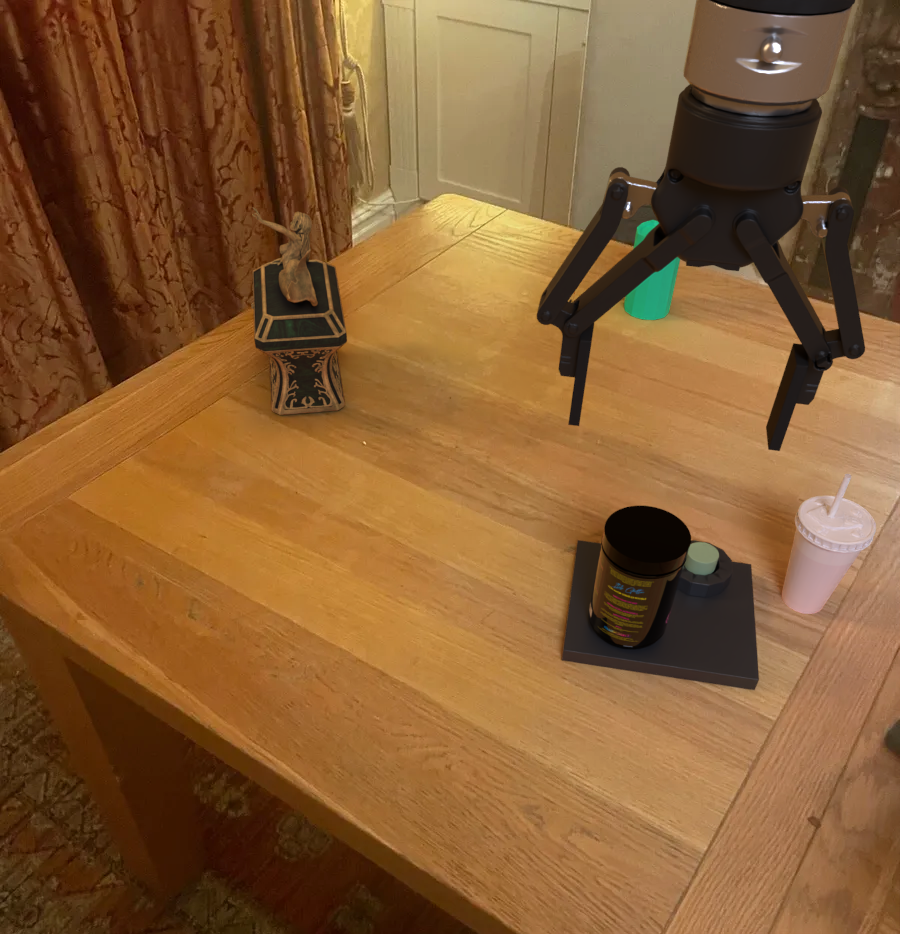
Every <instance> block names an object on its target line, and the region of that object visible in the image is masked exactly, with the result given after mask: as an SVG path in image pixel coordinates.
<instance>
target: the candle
mask: <svg viewBox="0 0 900 934" xmlns="http://www.w3.org/2000/svg"><path fill="white" fill-rule="evenodd" d="M658 224H659V222H658V220H657V219H656V220H655V219H650V220H647V221H644V222H641V223H640V224H639V225H637V227H636V231H635V237H634V243H633V249H634V248H635V247H636V246H637V245H639V244H640V243H641V242H642V241H643V240H644V238H645V237H646V235H647V234H648V233H649V232H650V231H651V230H652V229H653V228H654V227H655V226H657V225H658ZM633 249H632V250H633ZM680 263H681V259H679V258H678V257H676V258H675V259H674V260H673V261H672V262H670V263H669V264H668V265H667V266H666V267H664V268H663V269H662V270H660V271H659V272H654V273H653V274H652V275H650V276H649V277H648V278H647V279H646V280H644V281H643V282H642V283H641V284H640V285H638V286H637V287H636V288H635V289H634V290H632V291H631V292H630V293H629V294H628V295H627V296H625V297H624V301H623V309H624V312H626V313H627V314H628V315H629V316H630V317H633V318H636V319H640V320H643V321H644V320H648V321H656V320H660V319H664V318H665V317H666V316H667V315H668V314H670V310H671V305H672V302H673V296H674V291H675V287H676V282H677V278H678V273H679V267H680Z"/></svg>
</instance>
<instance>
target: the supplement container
mask: <svg viewBox="0 0 900 934" xmlns="http://www.w3.org/2000/svg"><path fill="white" fill-rule="evenodd" d="M691 540H692V535H691V531H690V529H689V528H688V526H687V525H686V524H685V522H684V521H683V520H681V518H680V517H678V516H677V515H676V514H674V513H672V512H670V511H668V510H666V509H662V508H659V507H656V506H651V505H630V506H626V507H625V506H624V507H622V508H620V509H617V510H616V511H614V512H612V514H610V515H609V516H608V517H607V518H606V521H605V523H604V527H603V533H602V537H601V541H600V543H601V549H600V555H599V560H598V565H597V570H596V576H595V581H594V586H593V591H592V596H591V602H590V607H589V612H588V618H589V622H590V625H591V627H592V629H593V631H594V632H595V633H596V635H597V636H598V637H599V638H600V639H602V640H603V641H605V642H606V643H608V644H610V645H612V646H614V647H617V648H621V649H628V650H636V649H642V648H646V647H648V646H651V645H653V644H654V643H656V642H657V641H658V640H659V639H660V638H661V637H662V636H663V634H664V632H665V630H666V626H667V623H668V620H669V616H670V613H671V609H672V606H673V602H674V599H675V595H676V592H677V588H678V585H679V581H680V578H681V574H682V571H683V567H684V564H685V562H686V560H687V555H688V551H689V548H690V544H691Z"/></svg>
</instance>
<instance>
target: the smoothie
mask: <svg viewBox="0 0 900 934" xmlns="http://www.w3.org/2000/svg"><path fill="white" fill-rule="evenodd" d="M852 477H853V476H852V474H850V473H844V475H843V477H842V480H841V482H840V484H839V487H838V489H837V492H836V494H835V495H831V494H828V495H827V494H823V495H814V496H811V497H809V498H806V499H805V500H803V501H802V502H801V503H800V505H799V507H798V509H797V511H796V513H795V516H794V525H795V527H796V528H795V532H794V535H793V536H794V537H793V541H792V545H791V551H790V553H789V554H790V555H789V560H788V564H787V567H786V572H785V577H784V582H783V586H782V591H781V599H782V601H783V603H784V604H785V605H786V606H787V607H788V608H789V609H791V610H792V611H795V612H796V613H800V614H803V615H811V614H816V613H819V612H821V610H823V608H824V607H825V605H826V603H827V602H828V601H829V599H830V598H831V596H832V595H833V593H834V592H835V590H836V589H837V588H838V586H839V584H840V583H841V582H842V580H843V578H844V577H845V576H846V574H847V573H848V571H849V570H850V568H851V567H852V565H853V564H854V562H855V561H856V560H857V559H858V557H859V555H860V554H861V552H862V551H864V550H865V549H867V548H869V547H870V546H871V544H872V543H873V541H874V537H875V535H876V532H877V523H876V520H875V518H874V517H873V515H872V514H871V513H870V512H869V511H868V510H867V509H866V508H865V507H864V506H862V505H860V504H859V503H858V502H855V501H853V500H850V499H848V498H845V497H844V496H845V494H846V491H847V489H848V487H849V484H850V482H851V480H852Z"/></svg>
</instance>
